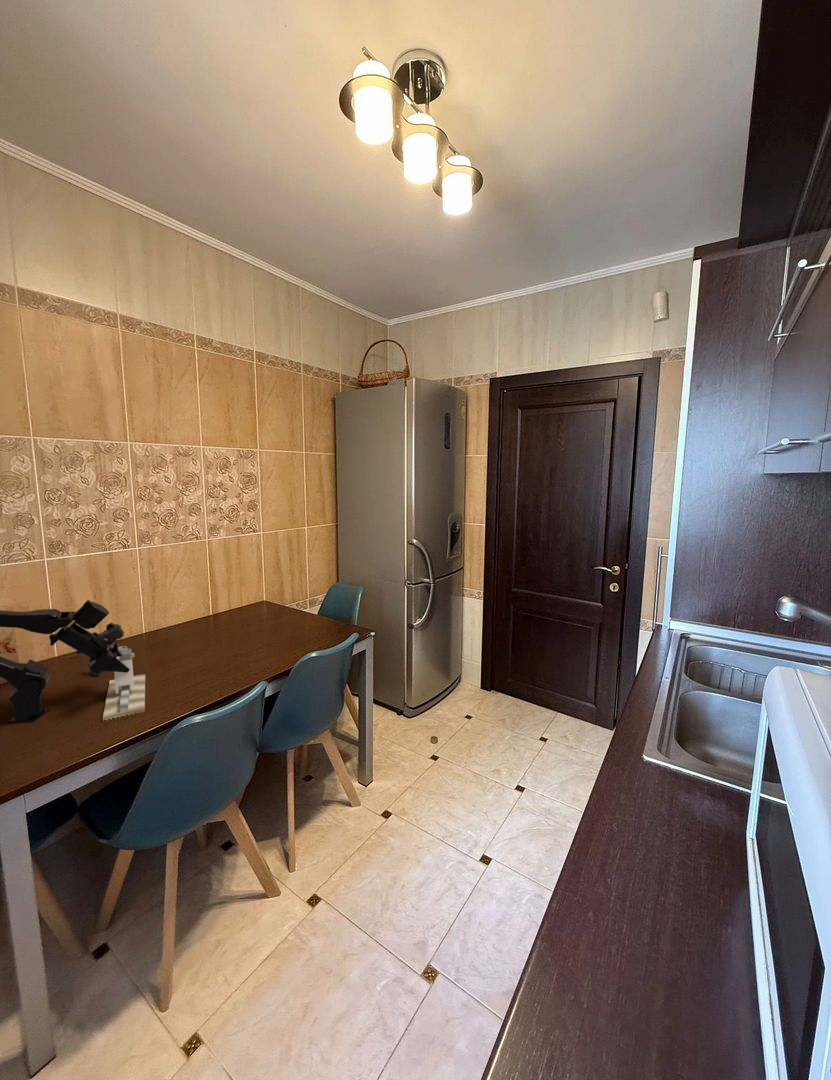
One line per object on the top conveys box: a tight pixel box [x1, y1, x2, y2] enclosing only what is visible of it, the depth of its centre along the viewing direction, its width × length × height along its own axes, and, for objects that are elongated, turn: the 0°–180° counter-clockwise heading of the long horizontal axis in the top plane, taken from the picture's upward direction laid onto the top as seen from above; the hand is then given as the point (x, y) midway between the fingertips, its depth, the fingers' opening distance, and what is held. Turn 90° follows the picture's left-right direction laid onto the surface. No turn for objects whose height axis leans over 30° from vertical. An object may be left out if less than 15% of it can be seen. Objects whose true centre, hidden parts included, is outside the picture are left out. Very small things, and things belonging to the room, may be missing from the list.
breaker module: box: [113, 648, 136, 694], centre depth 136 cm, size 4×5×12 cm
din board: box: [102, 673, 146, 722], centre depth 137 cm, size 26×10×3 cm, turn 31°
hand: (128, 668), depth 136 cm, fingers closed on breaker module, 4 cm apart
